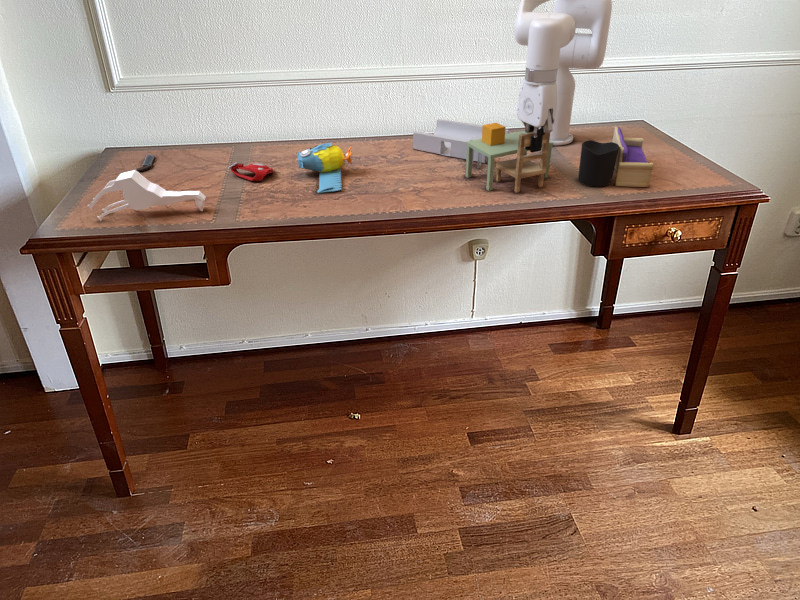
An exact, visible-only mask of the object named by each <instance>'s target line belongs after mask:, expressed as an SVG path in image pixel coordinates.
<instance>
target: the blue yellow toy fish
mask: <svg viewBox="0 0 800 600" xmlns="http://www.w3.org/2000/svg"><path fill="white" fill-rule="evenodd" d="M351 149H352V146H350V147H349V148H348V149H347V152H346V153H345V154H344V152H343V150H342V149H341V148H340V147H339V145H333V143H331V142H325V143H321V144H319V145H318V144H316V145H315V146H314V147H308V148H306V149H303V150H301V151H300V152H299V151H298V152H297V153H296V156H297V164H298V168H299V169H302V170H309V171H313V172H319V173H318V174H319V176H318V178H319V179H318V189H317V190H316V191H317V194H323V193H324V194H327V193H328V194H329V193H333V192H338V191H342V188H343V186H342V185H343V184H342V167H343V166H344V164H345V161H347V162H348V163H349V164H350V165H353V163H352V162H353V161H352V158H353V157H352V156H353V153H352V150H351Z"/></svg>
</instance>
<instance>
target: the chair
mask: <svg viewBox="0 0 800 600" xmlns="http://www.w3.org/2000/svg"><path fill="white" fill-rule="evenodd" d="M531 137H533V132H529V133H524V134H519V139H518V150H517V153H516V158H512V159H508V160H503V161H498V162H495V168H496V173H495V182H497V183H500V182H501V181H502V172H503V173H505V174H507V175H509V176H511V177H512V178H513V179H515V180H514V188H513V189H514V193H516V194H517V193H520V190H521V179H526V178H530V177H534V176H538V178H537V187H538V188H543V187H544V181H545V178H544V173H546V164H547V156H548V148H549V140H550V132H547V133H545V135H544V136H543V140H542V148H541V151H539V152H534V153H531V154H527V155H525V156H523V155H524V147H528V146H530V144H531ZM534 160H540V161H539V162H540V163H539V164H538V163H536V162H534Z"/></svg>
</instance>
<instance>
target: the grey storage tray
mask: <svg viewBox="0 0 800 600" xmlns="http://www.w3.org/2000/svg"><path fill="white" fill-rule="evenodd" d="M482 127H483V125H481V124H474V123H467V122H462V121H454V120H448V119H443V118H437V119H436V126H435V130H434V132H433V133H427V132H421V131H416V130H415V131H414V132H413V133H412V149H413V150H417V151H423V152H428V153H431V154H438V155H441V156H447V157H452V158H457V159H461V160H466V157H467V145H466V142H467V141H472V140H477V139H482ZM509 133H510V129H505V134H509ZM474 162H477V167H476V168H477V169H480V168H481V167H482V163H483V164H486V163H488V157H487V156H485V155H483V154H481V153H479V152H478V151H476V150H474V149H473V155H472V166H473V165H474Z"/></svg>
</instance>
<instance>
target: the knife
mask: <svg viewBox="0 0 800 600" xmlns="http://www.w3.org/2000/svg"><path fill="white" fill-rule="evenodd" d="M154 159H155V155H152V154H149V153H147V154H146V156H145V158H144V160H143V162H142V166H141V167H138V168H137V167H136V169H135V170H136V171H138V172H139V173H140V172H144V171H145V172H146V171H147V170H150V168H152V166H153V162H154Z"/></svg>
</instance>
